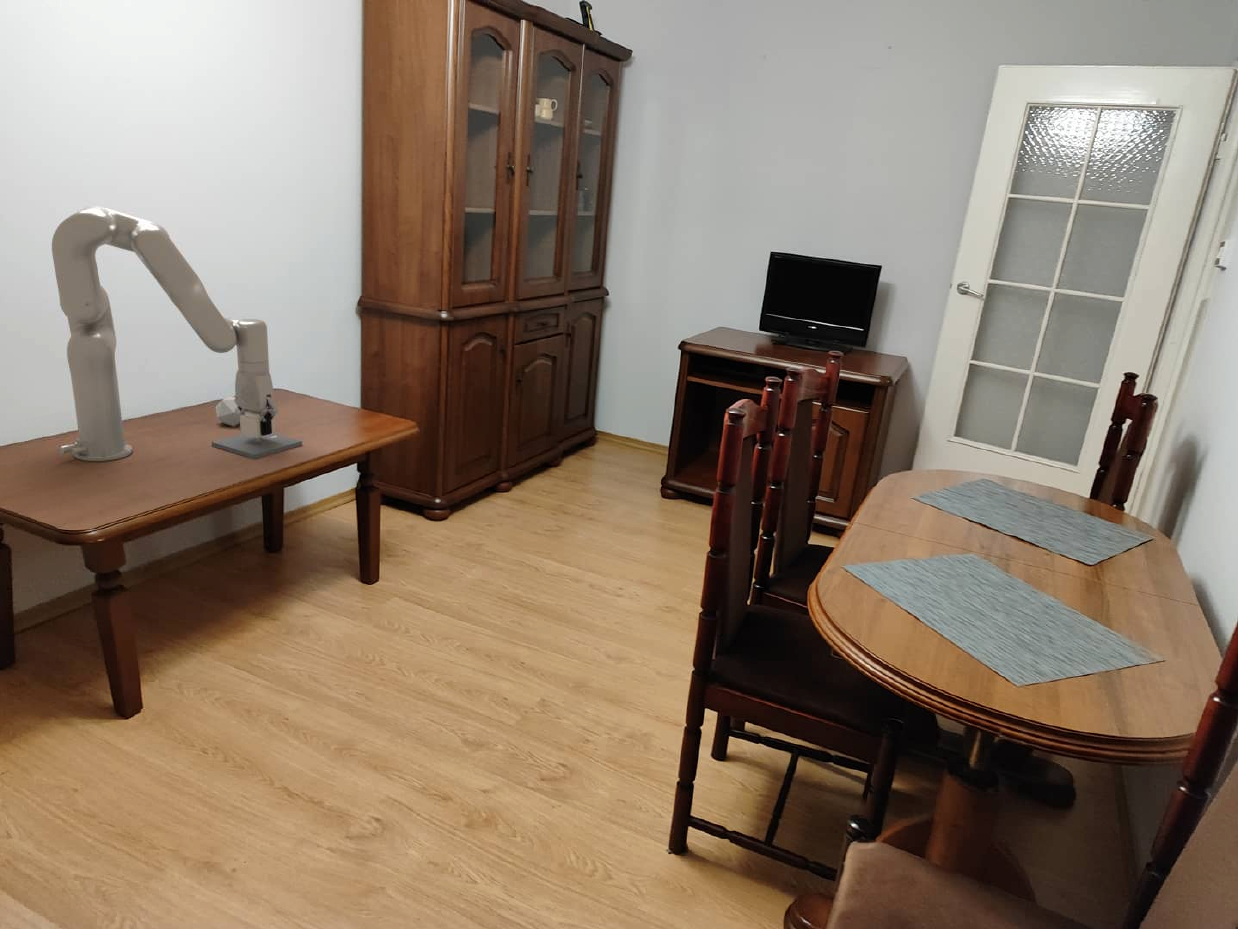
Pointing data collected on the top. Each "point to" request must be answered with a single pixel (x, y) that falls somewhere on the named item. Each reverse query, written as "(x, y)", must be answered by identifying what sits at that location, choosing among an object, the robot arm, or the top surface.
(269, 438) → the grey square peg base
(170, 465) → the top surface
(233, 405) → the die
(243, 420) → the white stepped block
